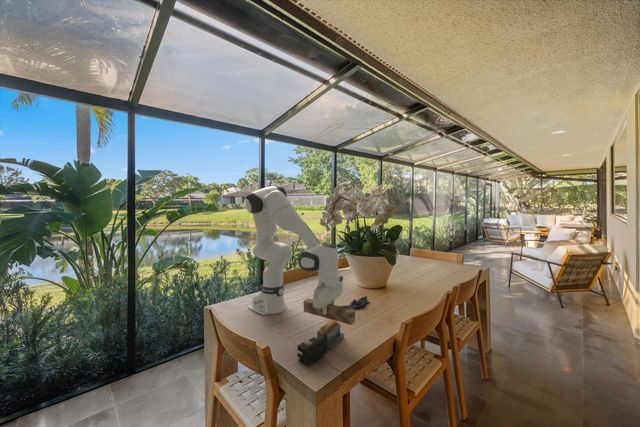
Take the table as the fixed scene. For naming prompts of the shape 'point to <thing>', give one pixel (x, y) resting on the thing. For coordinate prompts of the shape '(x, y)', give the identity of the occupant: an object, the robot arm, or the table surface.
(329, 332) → the fulcrum stand
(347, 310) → the walnut beam
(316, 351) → the end cap
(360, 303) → the decorative bat
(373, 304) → the table surface
